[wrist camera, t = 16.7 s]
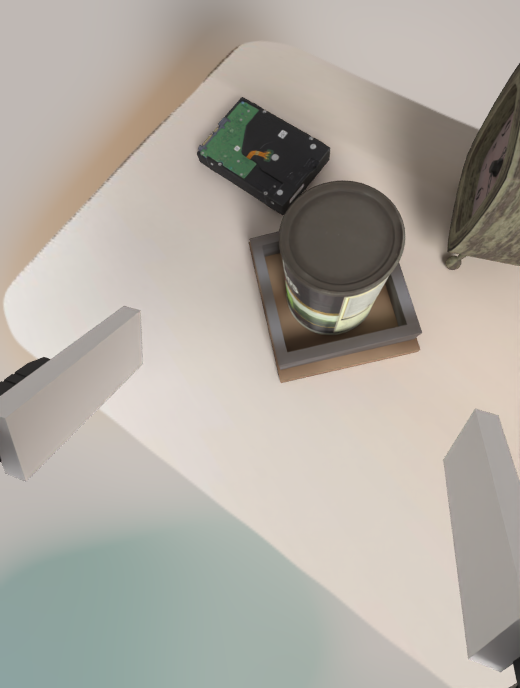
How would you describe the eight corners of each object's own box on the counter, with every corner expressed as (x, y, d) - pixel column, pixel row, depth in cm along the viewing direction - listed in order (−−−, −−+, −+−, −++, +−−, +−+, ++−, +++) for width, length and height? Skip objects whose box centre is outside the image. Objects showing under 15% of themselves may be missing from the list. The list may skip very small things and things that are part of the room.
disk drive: (330, 161, 51) (244, 111, 54) (332, 145, 49) (241, 94, 52) (284, 219, 50) (198, 164, 53) (283, 207, 47) (193, 150, 51)
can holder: (417, 351, 44) (428, 343, 40) (280, 382, 45) (278, 378, 41) (373, 215, 48) (379, 195, 44) (249, 246, 49) (244, 229, 45)
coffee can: (288, 339, 45) (281, 298, 31) (284, 257, 47) (276, 186, 33) (379, 333, 44) (413, 289, 30) (370, 250, 46) (398, 173, 32)
